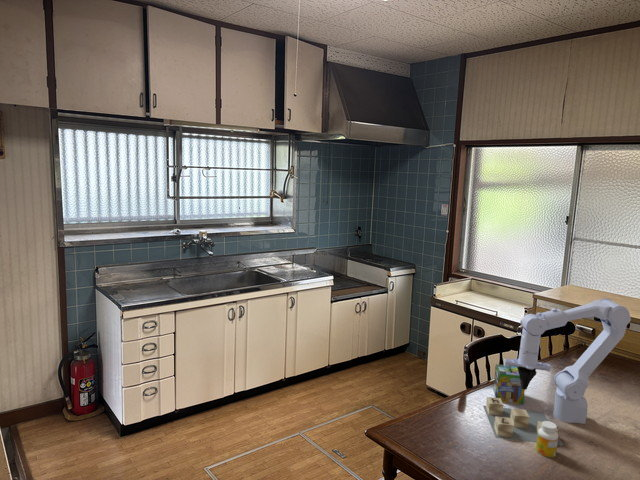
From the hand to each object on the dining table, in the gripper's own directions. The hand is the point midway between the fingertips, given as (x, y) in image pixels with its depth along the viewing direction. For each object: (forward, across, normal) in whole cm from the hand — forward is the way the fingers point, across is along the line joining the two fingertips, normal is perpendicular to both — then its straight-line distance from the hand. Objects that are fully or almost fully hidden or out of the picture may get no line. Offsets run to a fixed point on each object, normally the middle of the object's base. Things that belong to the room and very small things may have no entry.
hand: (523, 388), depth 157 cm
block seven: (+10, -9, -13) cm, 19 cm away
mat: (+10, -2, -7) cm, 13 cm away
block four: (+10, -9, 0) cm, 13 cm away
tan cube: (+9, +4, -13) cm, 17 cm away
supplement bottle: (+11, +2, -21) cm, 24 cm away
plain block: (+10, -2, -7) cm, 12 cm away
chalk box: (+11, -1, +12) cm, 16 cm away
